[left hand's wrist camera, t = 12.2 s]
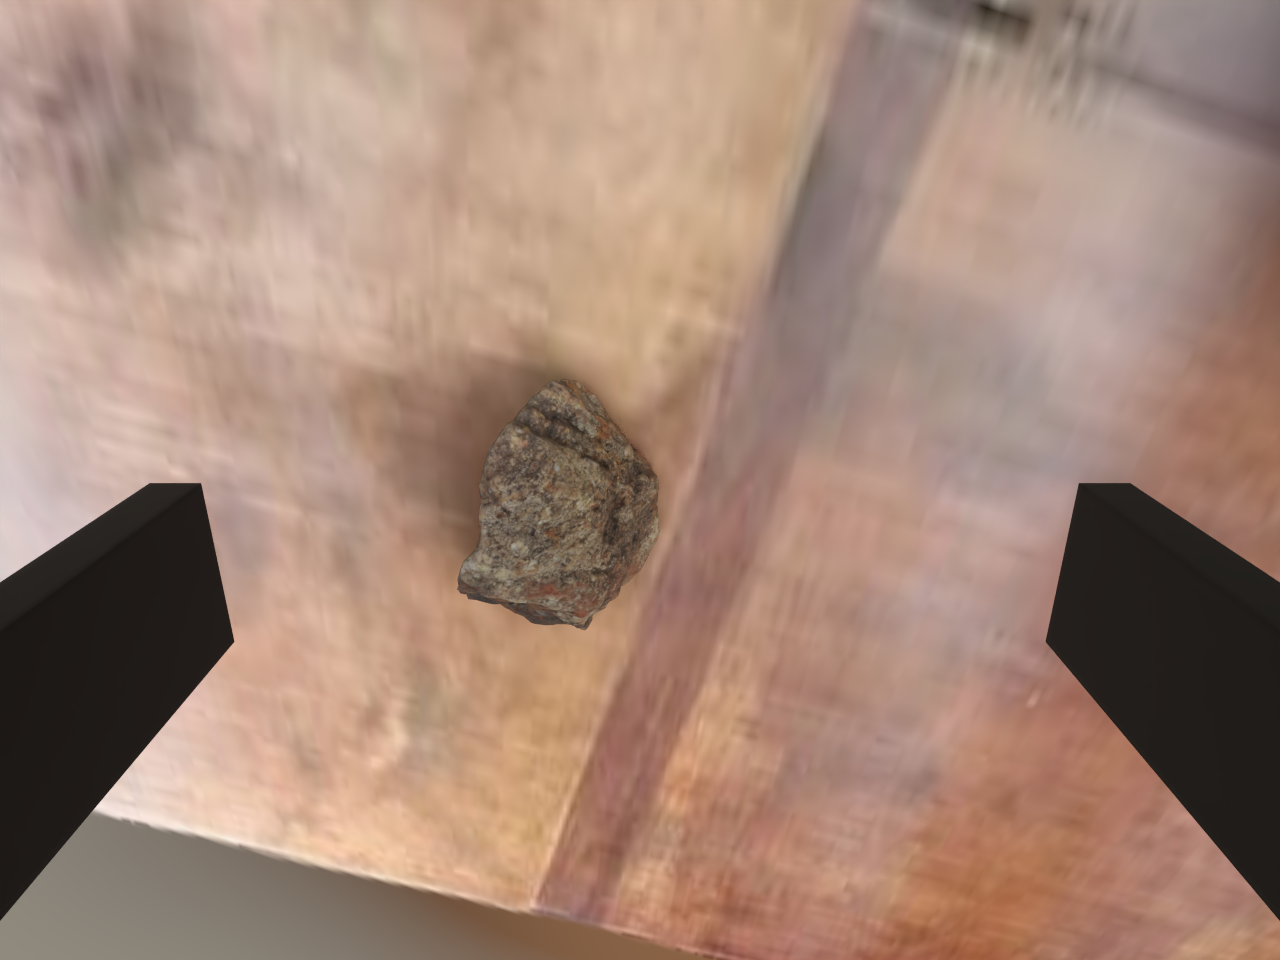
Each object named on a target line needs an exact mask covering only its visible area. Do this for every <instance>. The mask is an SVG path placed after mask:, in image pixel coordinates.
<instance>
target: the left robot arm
mask: <svg viewBox="0 0 1280 960" xmlns="http://www.w3.org/2000/svg"><path fill="white" fill-rule="evenodd" d="M233 643H234V638H233V633H232V628H231V623H230V619H229V614H228V609H227V604H226V600H225V595H224V590H223V585H222V581H221V576H220V571H219V566H218V562H217V557H216V552H215V547H214V543H213V538H212V533H211V528H210V523H209V519H208V514H207V509H206V504H205V500H204V495H203V490H202V485H201V483H149V484H148V485H146V486H145V487H143V488H142V489H140V490H139V491H137V492H136V493H134V494H133V495H131V496H130V497H128V498H127V499H125V500H124V501H122V502H121V503H119V504H118V505H116V506H115V507H113V508H112V509H110V510H109V511H107V512H106V513H104V514H103V515H101V516H100V517H98V518H97V519H95V520H94V521H92V522H91V523H89V524H88V525H86V526H85V527H83V528H82V529H80V530H79V531H77V532H76V533H74V534H73V535H71V536H70V537H68V538H67V539H65V540H64V541H62V542H60V543H59V544H57V545H56V546H54V547H53V548H51V549H50V550H48V551H47V552H45V553H44V554H42V555H41V556H39V557H38V558H36V559H35V560H33V561H32V562H30V563H29V564H27V565H26V566H24V567H23V568H21V569H20V570H18V571H17V572H15V573H14V574H12V575H11V576H9V577H8V578H6V579H5V580H3V581H2V582H0V920H1V919H2V918H3V917H4V916H5V914H6V913H7V912H8V911H9V910H10V908H11V907H12V906H13V905H14V904H15V902H16V901H17V900H18V899H19V898H20V896H21V895H22V894H23V893H24V892H25V890H26V889H27V888H28V887H29V886H30V885H31V883H32V882H33V881H34V880H35V879H36V877H37V876H38V875H39V874H40V873H41V871H42V870H43V869H44V868H45V867H46V865H47V864H48V863H49V862H50V861H51V859H52V858H53V857H54V856H55V855H56V854H57V852H58V851H59V850H60V849H61V848H62V846H63V845H64V844H65V843H66V842H67V840H68V839H69V838H70V837H71V836H72V835H73V833H74V832H75V831H76V830H77V829H78V827H79V826H80V825H81V824H82V823H83V821H84V820H85V819H86V818H87V817H88V815H89V814H90V813H91V812H92V811H93V810H94V808H95V807H96V806H97V805H98V804H99V802H100V801H101V800H102V799H103V798H104V796H105V795H106V794H107V793H108V792H109V790H110V789H111V788H112V787H113V786H114V784H115V783H116V782H117V781H118V780H119V779H120V777H121V776H122V775H123V774H124V773H125V771H126V770H127V769H128V768H129V767H130V765H131V764H132V763H133V762H134V761H135V759H136V758H137V757H138V756H139V755H140V754H141V752H142V751H143V750H144V749H145V748H146V746H147V745H148V744H149V743H150V742H151V740H152V739H153V738H154V737H155V736H156V734H157V733H158V732H159V731H160V730H161V728H162V727H163V726H164V725H165V724H166V723H167V721H168V720H169V719H170V718H171V717H172V715H173V714H174V713H175V712H176V711H177V709H178V708H179V707H180V706H181V705H182V703H183V702H184V701H185V700H186V699H187V697H188V696H189V695H190V694H191V693H192V692H193V690H194V689H195V688H196V687H197V686H198V684H199V683H200V682H201V681H202V680H203V678H204V677H205V676H206V675H207V674H208V672H209V671H210V670H211V669H212V668H213V667H214V665H215V664H216V663H217V662H218V661H219V659H220V658H221V657H222V656H223V655H224V653H225V652H226V651H227V650H228V649H229V647H230V646H231V645H232V644H233ZM1046 643H1047V644H1048V645H1049V646H1050V647H1051V649H1052V650H1053V651H1054V652H1055V653H1056V655H1057V656H1058V657H1059V658H1060V659H1061V661H1062V662H1063V663H1064V664H1065V665H1066V667H1067V668H1068V669H1069V670H1070V671H1071V672H1072V674H1073V675H1074V676H1075V677H1076V678H1077V680H1078V681H1079V682H1080V683H1081V684H1082V686H1083V687H1084V688H1085V689H1086V690H1087V692H1088V693H1089V694H1090V695H1091V696H1092V697H1093V699H1094V700H1095V701H1096V702H1097V703H1098V705H1099V706H1100V707H1101V708H1102V709H1103V711H1104V712H1105V713H1106V714H1107V715H1108V717H1109V718H1110V719H1111V720H1112V721H1113V723H1114V724H1115V725H1116V726H1117V727H1118V728H1119V730H1120V731H1121V732H1122V733H1123V734H1124V736H1125V737H1126V738H1127V739H1128V740H1129V742H1130V743H1131V744H1132V745H1133V746H1134V748H1135V749H1136V750H1137V751H1138V752H1139V754H1140V755H1141V756H1142V757H1143V758H1144V759H1145V761H1146V762H1147V763H1148V764H1149V765H1150V767H1151V768H1152V769H1153V770H1154V771H1155V773H1156V774H1157V775H1158V776H1159V777H1160V779H1161V780H1162V781H1163V782H1164V783H1165V784H1166V786H1167V787H1168V788H1169V789H1170V790H1171V792H1172V793H1173V794H1174V795H1175V796H1176V798H1177V799H1178V800H1179V801H1180V802H1181V804H1182V805H1183V806H1184V807H1185V808H1186V810H1187V811H1188V812H1189V813H1190V814H1191V815H1192V817H1193V818H1194V819H1195V820H1196V821H1197V823H1198V824H1199V825H1200V826H1201V827H1202V829H1203V830H1204V831H1205V832H1206V833H1207V835H1208V836H1209V837H1210V838H1211V839H1212V840H1213V842H1214V843H1215V844H1216V845H1217V846H1218V848H1219V849H1220V850H1221V851H1222V852H1223V854H1224V855H1225V856H1226V857H1227V858H1228V860H1229V861H1230V862H1231V863H1232V864H1233V866H1234V867H1235V868H1236V869H1237V870H1238V871H1239V873H1240V874H1241V875H1242V876H1243V877H1244V879H1245V880H1246V881H1247V882H1248V883H1249V885H1250V886H1251V887H1252V888H1253V889H1254V891H1255V892H1256V893H1257V894H1258V895H1259V897H1260V898H1261V899H1262V900H1263V901H1264V902H1265V904H1266V905H1267V906H1268V907H1269V908H1270V910H1271V911H1272V912H1273V913H1274V914H1275V916H1276V917H1277V918H1278V919H1279V920H1280V582H1278V581H1277V580H1275V579H1274V578H1272V577H1271V576H1269V575H1268V574H1266V573H1265V572H1263V571H1262V570H1260V569H1259V568H1257V567H1256V566H1254V565H1253V564H1251V563H1250V562H1248V561H1247V560H1245V559H1244V558H1242V557H1241V556H1239V555H1238V554H1236V553H1235V552H1233V551H1232V550H1230V549H1229V548H1227V547H1226V546H1224V545H1223V544H1221V543H1220V542H1218V541H1216V540H1215V539H1213V538H1212V537H1210V536H1209V535H1207V534H1206V533H1204V532H1203V531H1201V530H1200V529H1198V528H1197V527H1195V526H1194V525H1192V524H1191V523H1189V522H1188V521H1186V520H1185V519H1183V518H1182V517H1180V516H1179V515H1177V514H1176V513H1174V512H1173V511H1171V510H1170V509H1168V508H1167V507H1165V506H1164V505H1162V504H1161V503H1159V502H1158V501H1156V500H1155V499H1153V498H1152V497H1150V496H1149V495H1147V494H1146V493H1144V492H1143V491H1141V490H1140V489H1138V488H1137V487H1135V486H1134V485H1132V484H1131V483H1079V485H1078V490H1077V495H1076V500H1075V504H1074V509H1073V514H1072V519H1071V523H1070V528H1069V533H1068V538H1067V543H1066V547H1065V552H1064V557H1063V562H1062V566H1061V571H1060V576H1059V581H1058V585H1057V590H1056V595H1055V600H1054V604H1053V609H1052V614H1051V619H1050V623H1049V628H1048V633H1047V638H1046Z"/></svg>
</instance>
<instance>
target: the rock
mask: <svg viewBox="0 0 1280 960" xmlns="http://www.w3.org/2000/svg"><path fill="white" fill-rule="evenodd" d="M479 489H480V496H481V499H482V500H481V506H480V511H479V526H480V530H481V533H480V537H479V540H478V544H477V548H476V549H475V550H474V551H473V552H472V553H471V554H470V555H469V556H468V558H467V559H465V560H464V562H463V564H462V567H461V569H460V573H459V576H458V584H459V586H458V588H457V590H459V592H460V593H462V594H467V597H468V599H473V600H478V601H482V602H486V603H490V604H502V605H503V606H504V607H505V608H507V609H509V610H511V611H512V612H514V613H516V614H519V615H522V616H524V617H525V618H526V619H528V620H529V621H530V622H531V623H534V624H541V625H555V624H571V625H573V626H575V627H577V628H580V629H582V630H586V629H587V628H588V626H589V625H590V623H591V621H592V616H593V615H594V614H595V613H597V612H599V611H600V610H602V609H604V608H605V607H606V606H607V604H608V602H609V601H611V600H613V599H615V598H616V597H617V596H618V594H619V592H620V587H621V586H623V585H625V584H626V583H627V582H628V581H630V580H631V579H632V577H633V576H634V575H635V574H637V573H638V572H639V571H640V570H641V568H642V567H643V565H644V563H645V561H646V560H647V558H648V555H649V552H650V549H651V548H652V547H653V546H654V544H655V543H656V541H657V539H658V535H659V527H658V523H659V518H658V509H657V498H658V490H659V483H658V477H657V475H656V474H655V473H654V472H653V471H652V469H651V466H650V464H648V463H647V461H646V460H645V458H644V457H643V456H642V455H641V454H640V453H639V452H638V451H637V450H635V449H632V447H631V446H630V444H629V443H628V441H627V439H626V437H625V435H624V434H623V433H622V432H621V430H620V429H619V427H618V426H617V425H616V424H615V423H614V422H613V421H612V420H611V419H610V418H609V416H608V414H607V413H606V411H605V409H604V408H603V406H602V405H601V404H600V402H599V400H598V398H597V397H596V396H595V395H594V394H592V393H590V392H588V391H587V390H586V389H585V388H584V387H583V386H582V385H581V384H580V383H578V382H576V381H569V380H561V381H560V382H559V381H555V380H552V381H551V382H549V383H548V384H546V385H545V386H544V387H543V388H542V389H541V390H540V391H539V392H538V393H537V395H535V396H532V397H531V398H530V400H529V402H528V403H527V405H526V406H525V407H524V408H522V409H521V410H520V411H519V413H518V414H517V416H516V417H515V419H514V420H513V421H512V422H511V423H508V424H507V426H506V427H505V428H504V429H503V431H502V432H501V433H500V435H499V436H498V437H497V439H496V441H495V442H494V443H493V444H492V446H491V447H490V449H489V451H488V454H487V457H486V460H485V463H484V466H483V474H482V480H481V482H480V485H479Z"/></svg>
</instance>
